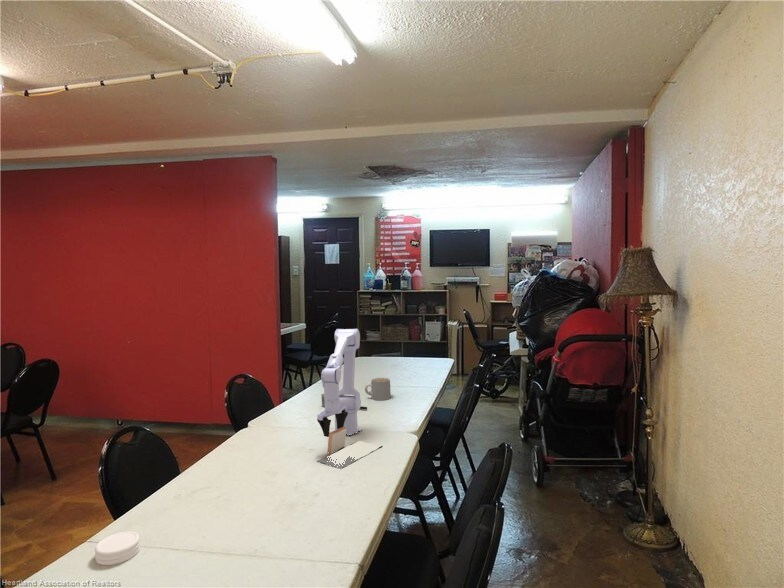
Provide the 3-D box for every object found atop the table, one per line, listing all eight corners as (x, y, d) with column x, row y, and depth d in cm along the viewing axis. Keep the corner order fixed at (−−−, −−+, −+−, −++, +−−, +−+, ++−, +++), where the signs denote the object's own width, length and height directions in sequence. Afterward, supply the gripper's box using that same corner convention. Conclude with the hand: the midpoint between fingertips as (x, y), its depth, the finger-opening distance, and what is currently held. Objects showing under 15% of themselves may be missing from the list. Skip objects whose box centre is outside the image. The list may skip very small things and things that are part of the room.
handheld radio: (324, 405, 247) (368, 409, 237) (321, 407, 244) (365, 411, 234) (323, 392, 247) (367, 396, 237) (320, 394, 244) (364, 398, 234)
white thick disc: (86, 562, 120) (85, 548, 120) (121, 540, 129) (120, 527, 129) (115, 570, 116) (114, 556, 116) (149, 547, 126) (148, 534, 125)
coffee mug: (391, 395, 261) (391, 377, 260) (389, 400, 251) (388, 381, 250) (367, 395, 262) (366, 377, 262) (364, 400, 252) (363, 382, 252)
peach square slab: (327, 452, 184) (329, 432, 182) (341, 445, 190) (343, 426, 189) (330, 454, 183) (332, 434, 181) (344, 447, 189) (346, 428, 188)
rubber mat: (316, 461, 176) (316, 460, 176) (359, 440, 195) (359, 440, 195) (341, 469, 169) (341, 468, 169) (382, 446, 188) (382, 445, 188)
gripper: (326, 405, 178) (327, 441, 178) (352, 395, 189) (353, 429, 190) (312, 402, 182) (314, 437, 183) (338, 393, 193) (340, 426, 194)
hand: (333, 433), depth 187 cm, fingers open, 7 cm apart
